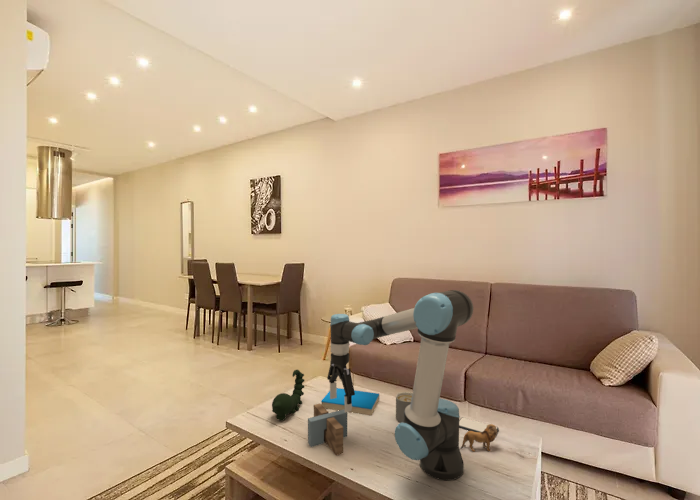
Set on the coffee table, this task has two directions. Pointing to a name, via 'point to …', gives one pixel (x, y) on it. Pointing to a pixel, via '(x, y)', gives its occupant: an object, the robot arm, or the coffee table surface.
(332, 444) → the walnut board
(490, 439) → the lion figurine
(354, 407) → the book
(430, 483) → the coffee table surface
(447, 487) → the coffee table surface
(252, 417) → the coffee table surface
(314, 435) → the slate plate
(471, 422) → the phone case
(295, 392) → the toy figurine
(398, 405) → the coffee mug
